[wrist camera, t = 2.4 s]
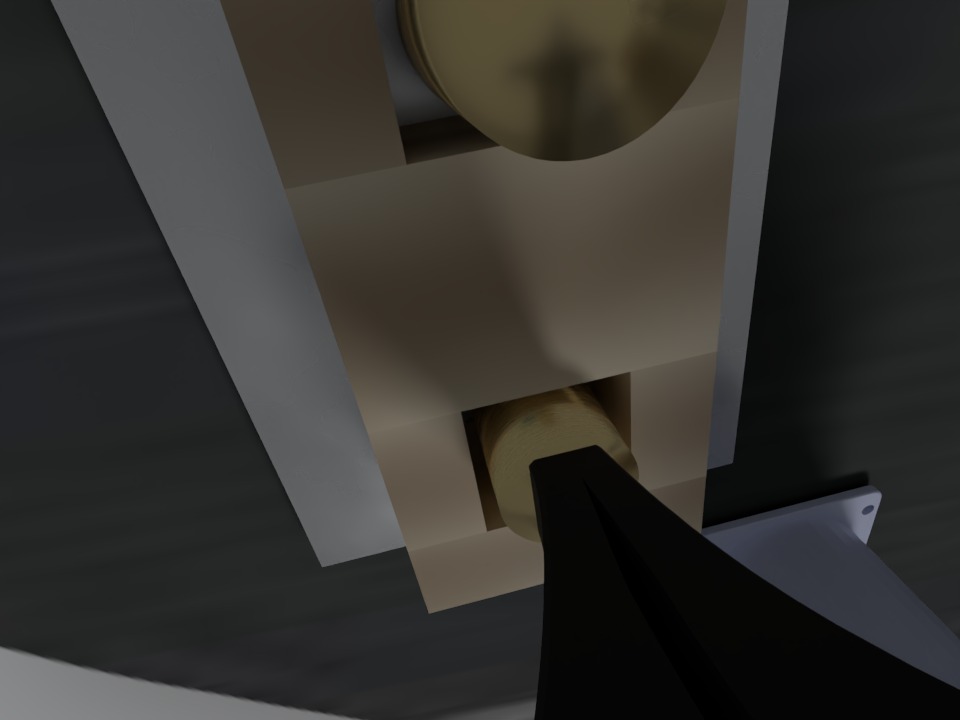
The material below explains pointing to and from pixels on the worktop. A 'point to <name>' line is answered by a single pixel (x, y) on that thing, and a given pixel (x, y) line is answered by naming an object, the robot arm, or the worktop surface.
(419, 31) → the pin
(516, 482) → the pin
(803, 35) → the worktop surface
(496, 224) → the housing
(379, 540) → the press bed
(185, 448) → the worktop surface
